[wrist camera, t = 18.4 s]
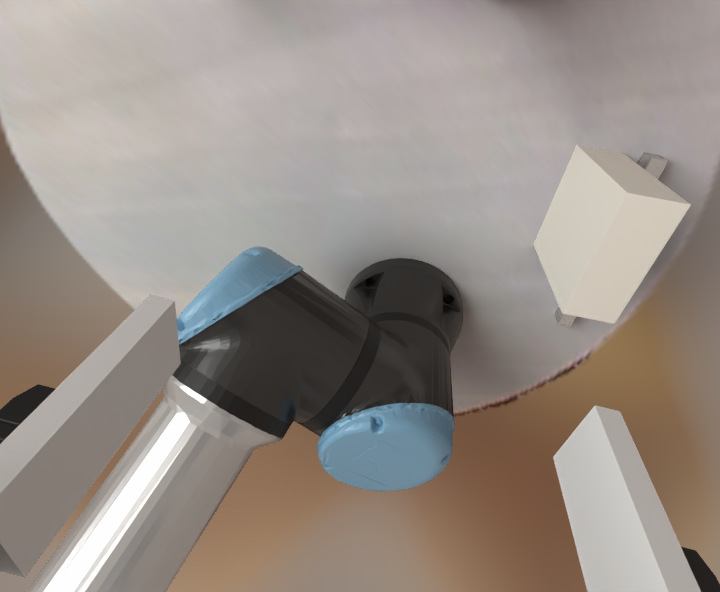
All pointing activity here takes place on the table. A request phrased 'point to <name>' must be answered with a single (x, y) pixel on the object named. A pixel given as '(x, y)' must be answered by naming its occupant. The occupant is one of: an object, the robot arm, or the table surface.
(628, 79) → the table surface
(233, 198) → the table surface
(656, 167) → the rail
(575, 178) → the carton box
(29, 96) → the table surface
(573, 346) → the table surface
